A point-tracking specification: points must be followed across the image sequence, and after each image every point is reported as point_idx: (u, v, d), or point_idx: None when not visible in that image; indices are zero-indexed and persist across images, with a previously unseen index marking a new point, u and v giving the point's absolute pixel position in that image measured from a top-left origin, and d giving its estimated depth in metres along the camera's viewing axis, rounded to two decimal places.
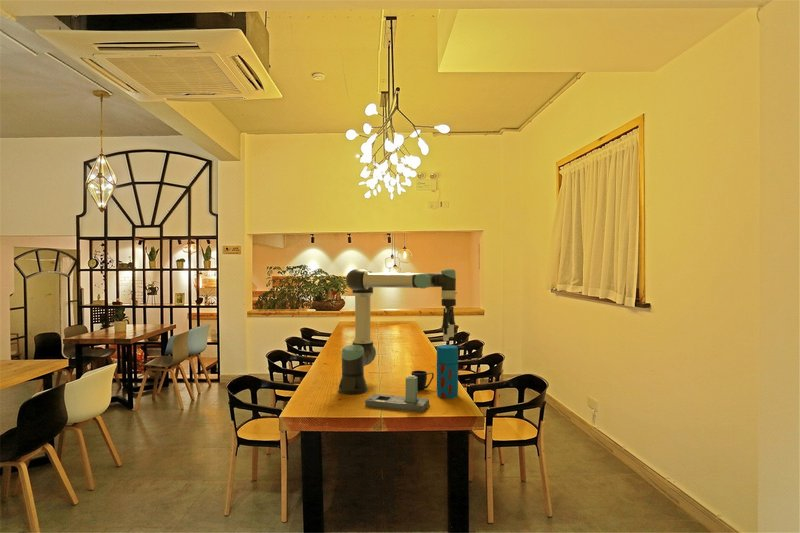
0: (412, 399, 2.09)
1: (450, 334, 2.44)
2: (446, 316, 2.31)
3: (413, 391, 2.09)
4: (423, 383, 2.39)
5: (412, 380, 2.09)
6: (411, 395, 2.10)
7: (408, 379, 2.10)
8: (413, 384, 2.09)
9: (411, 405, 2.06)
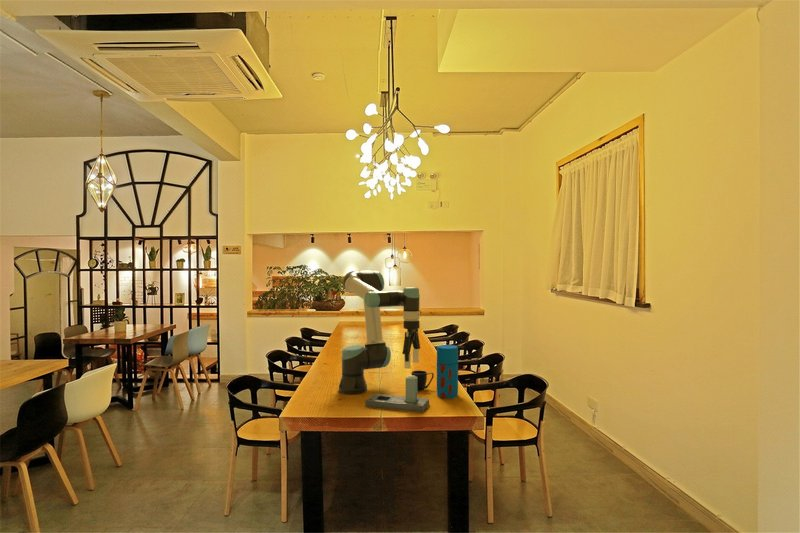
0: (412, 399, 2.09)
1: (414, 360, 2.18)
2: (407, 341, 2.04)
3: (413, 391, 2.09)
4: (423, 383, 2.39)
5: (412, 380, 2.09)
6: (411, 395, 2.10)
7: (408, 379, 2.10)
8: (413, 384, 2.09)
9: (411, 405, 2.06)
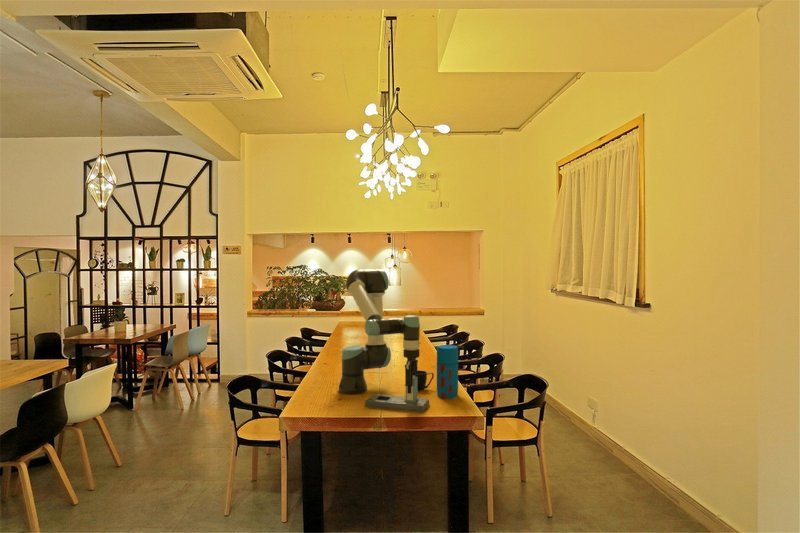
0: None
1: None
2: (408, 374, 2.06)
3: (413, 391, 2.09)
4: (423, 383, 2.39)
5: None
6: None
7: None
8: (413, 384, 2.09)
9: (411, 405, 2.06)
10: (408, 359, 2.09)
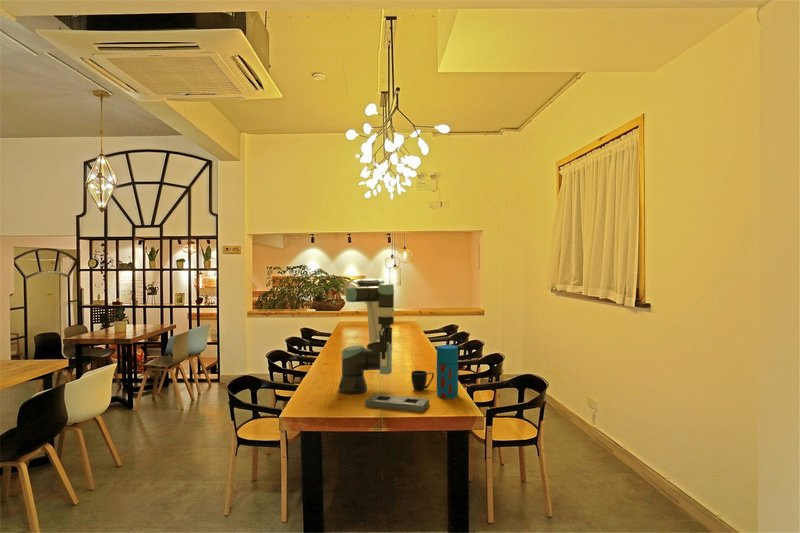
0: None
1: None
2: (382, 340, 2.10)
3: (387, 357, 2.14)
4: (423, 383, 2.39)
5: None
6: None
7: None
8: (387, 350, 2.14)
9: (411, 405, 2.06)
10: (382, 326, 2.13)
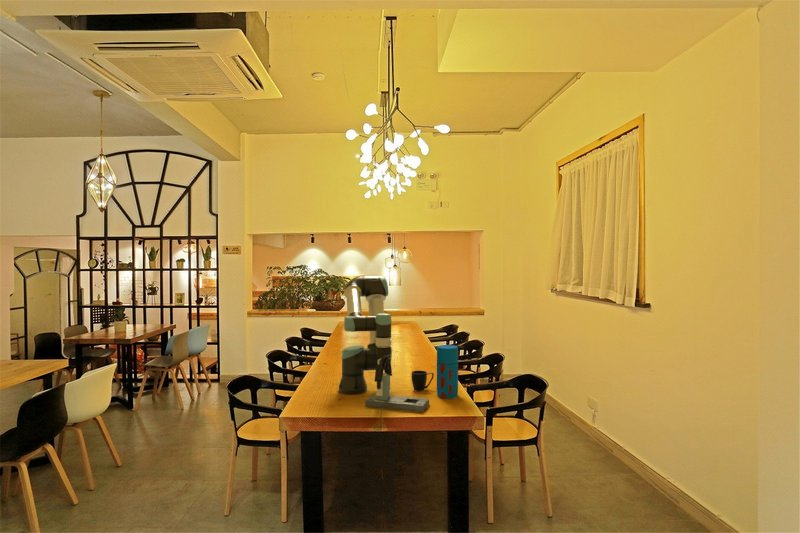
0: (383, 397, 2.14)
1: None
2: (379, 369, 2.09)
3: (385, 389, 2.14)
4: (423, 383, 2.39)
5: (384, 378, 2.14)
6: (383, 392, 2.14)
7: None
8: (385, 382, 2.14)
9: (411, 405, 2.06)
10: None
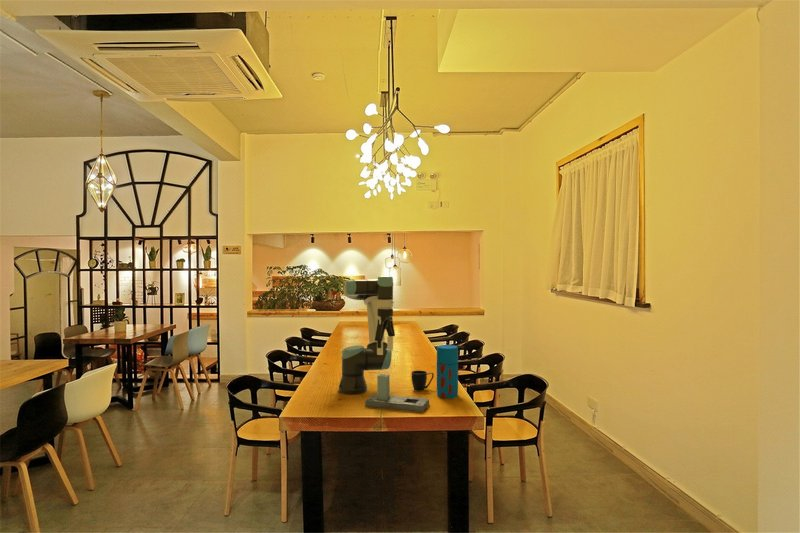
0: (383, 397, 2.14)
1: (389, 347, 2.24)
2: (380, 328, 2.10)
3: (385, 389, 2.14)
4: (423, 383, 2.39)
5: (384, 378, 2.14)
6: (383, 392, 2.14)
7: (380, 377, 2.14)
8: (385, 382, 2.14)
9: (411, 405, 2.06)
10: None
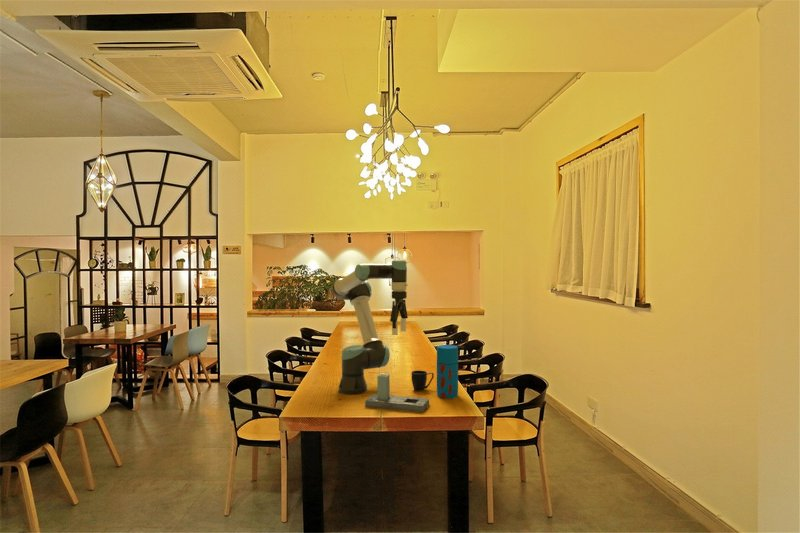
0: (383, 397, 2.14)
1: (402, 328, 2.33)
2: (395, 309, 2.19)
3: (385, 389, 2.14)
4: (423, 383, 2.39)
5: (384, 378, 2.14)
6: (383, 392, 2.14)
7: (380, 377, 2.14)
8: (385, 382, 2.14)
9: (411, 405, 2.06)
10: None
